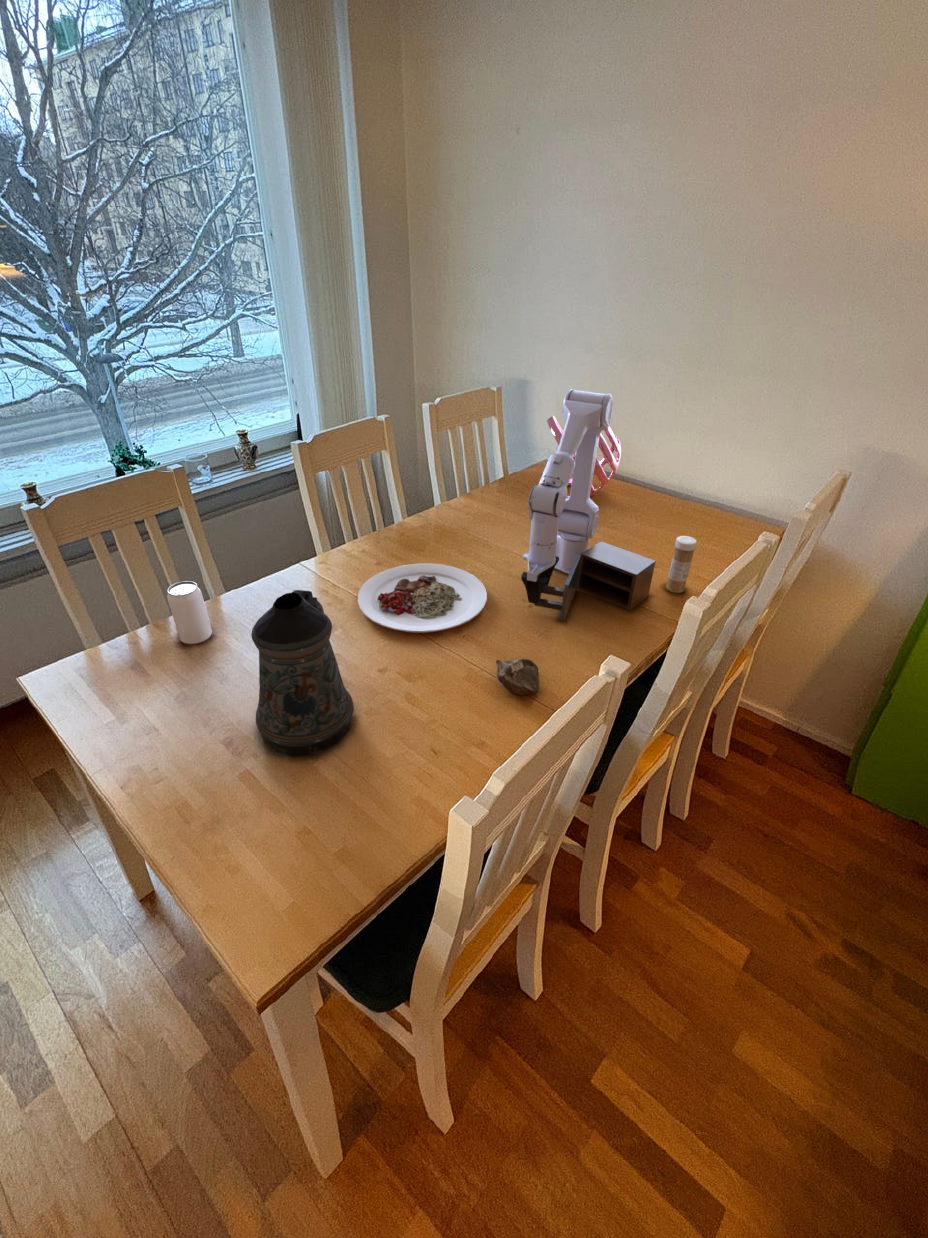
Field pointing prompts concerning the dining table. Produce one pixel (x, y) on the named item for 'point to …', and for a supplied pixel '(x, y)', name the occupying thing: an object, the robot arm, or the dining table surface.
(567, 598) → the cupboard door
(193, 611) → the can
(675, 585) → the sprinkles bottle
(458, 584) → the plated food
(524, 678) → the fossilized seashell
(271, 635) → the beer stein
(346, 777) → the dining table surface
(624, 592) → the cupboard
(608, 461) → the spiral basket
